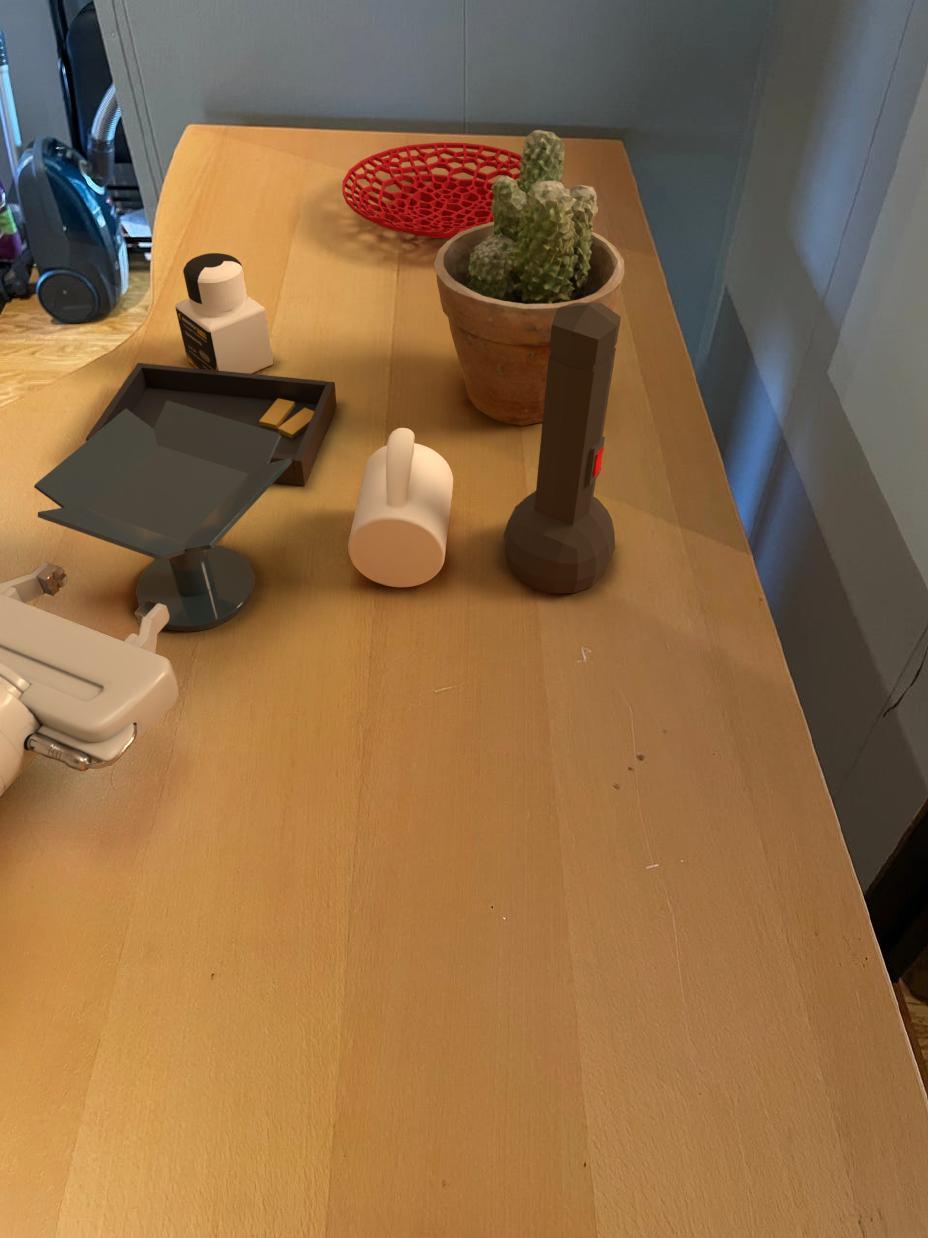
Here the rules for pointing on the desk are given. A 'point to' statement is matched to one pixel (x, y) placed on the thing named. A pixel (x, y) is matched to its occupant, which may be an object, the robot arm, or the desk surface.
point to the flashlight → (569, 460)
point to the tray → (231, 405)
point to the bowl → (429, 189)
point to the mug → (402, 513)
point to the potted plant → (523, 281)
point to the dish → (171, 504)
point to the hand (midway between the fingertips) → (108, 588)
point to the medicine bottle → (222, 318)
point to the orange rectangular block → (277, 413)
